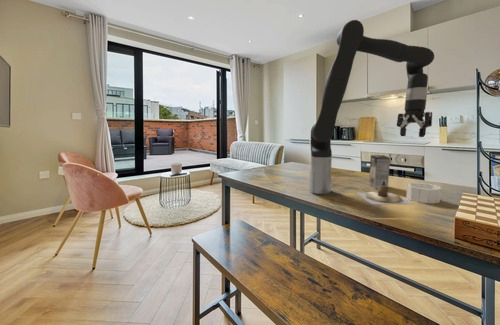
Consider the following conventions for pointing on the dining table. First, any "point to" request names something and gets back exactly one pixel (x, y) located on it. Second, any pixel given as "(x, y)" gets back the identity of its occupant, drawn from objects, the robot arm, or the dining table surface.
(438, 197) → the bowl
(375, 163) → the coffee box
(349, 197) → the dining table surface
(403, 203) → the mat
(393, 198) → the lid
